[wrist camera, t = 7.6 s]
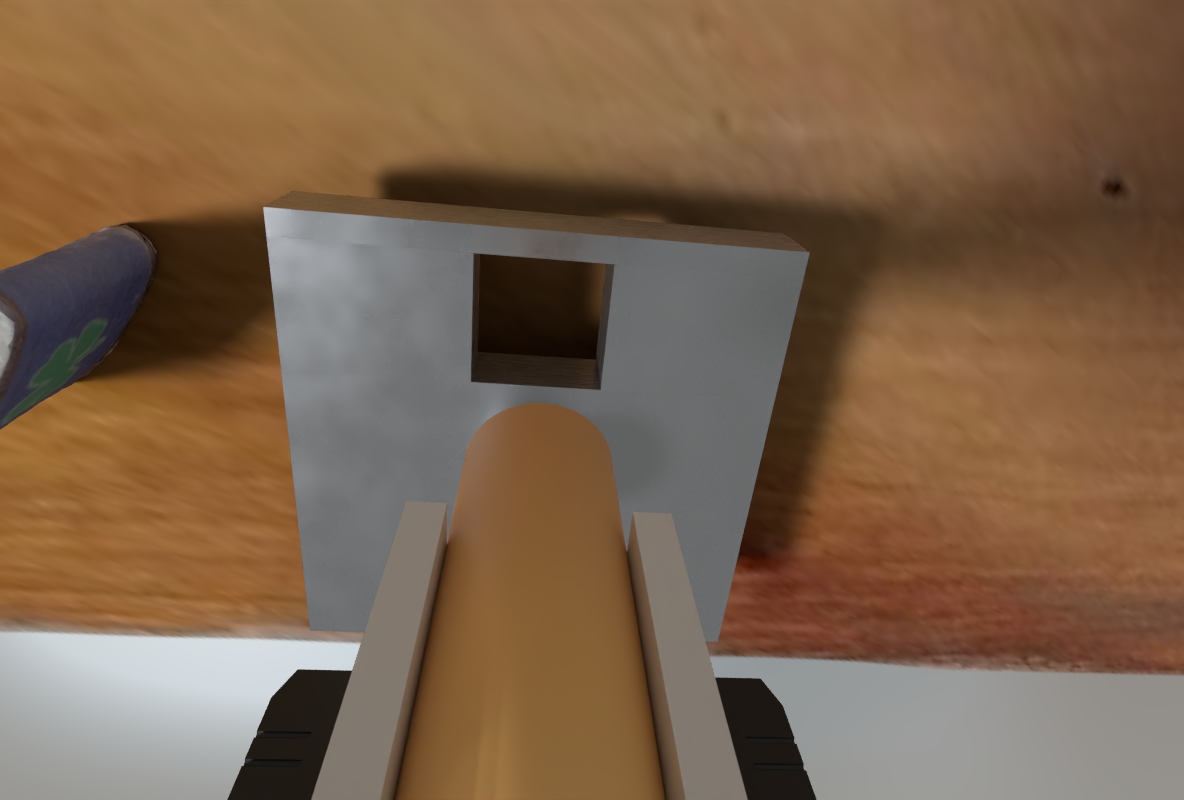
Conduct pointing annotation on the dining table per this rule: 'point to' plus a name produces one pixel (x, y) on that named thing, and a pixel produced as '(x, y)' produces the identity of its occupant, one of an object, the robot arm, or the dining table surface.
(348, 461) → the grey plate
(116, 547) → the dining table surface
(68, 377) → the flask
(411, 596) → the robot arm
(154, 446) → the dining table surface
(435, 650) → the light orange cylinder
